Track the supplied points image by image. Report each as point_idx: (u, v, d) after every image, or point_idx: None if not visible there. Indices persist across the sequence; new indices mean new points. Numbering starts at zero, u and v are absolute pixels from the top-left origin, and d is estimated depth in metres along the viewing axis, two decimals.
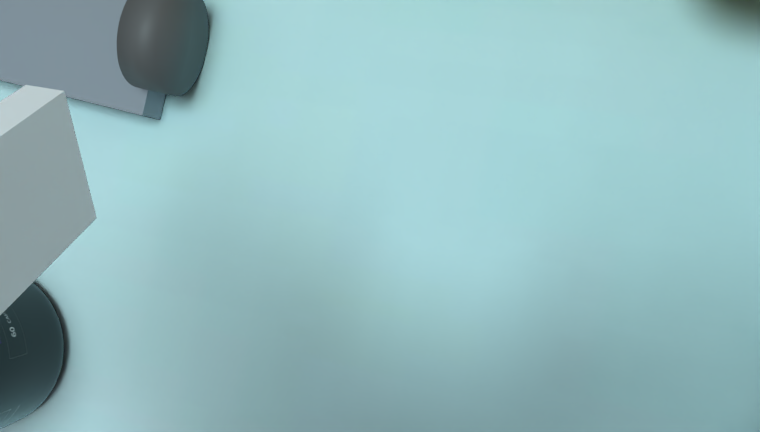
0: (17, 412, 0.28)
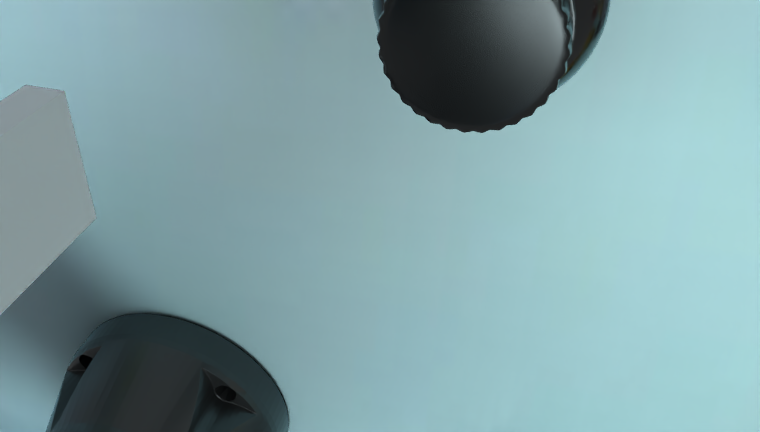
0: None
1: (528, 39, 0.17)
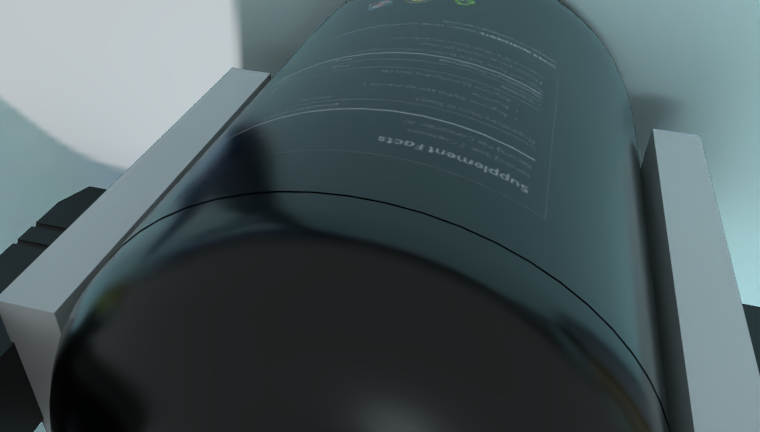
0: None
1: None
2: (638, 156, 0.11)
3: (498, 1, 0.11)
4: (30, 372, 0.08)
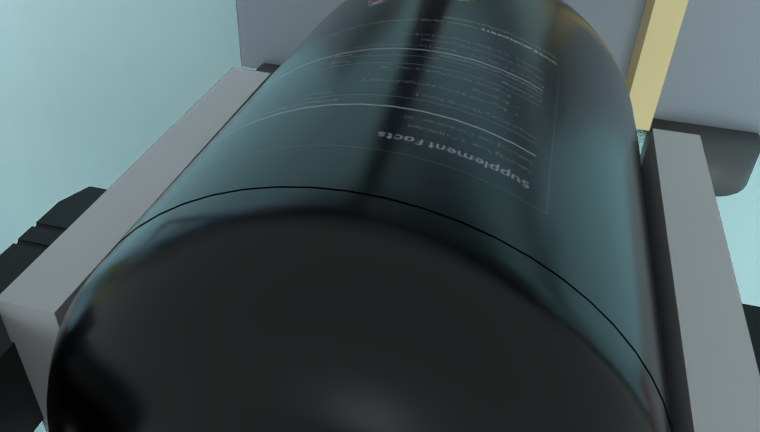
0: None
1: None
2: (639, 153, 0.11)
3: None
4: (31, 372, 0.08)
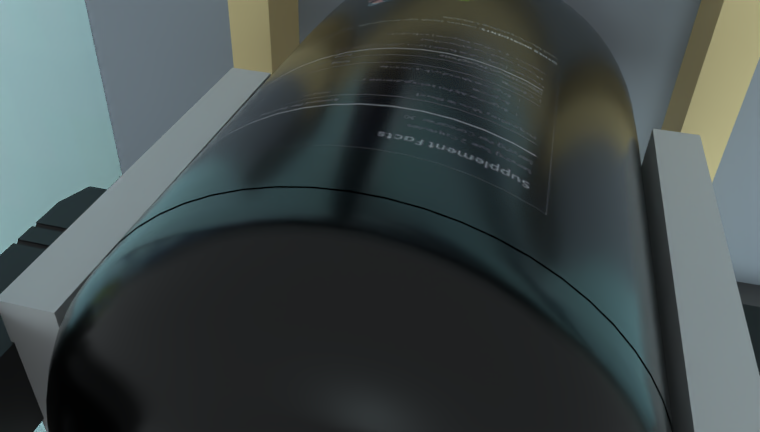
0: None
1: None
2: (639, 153, 0.11)
3: None
4: (30, 372, 0.08)
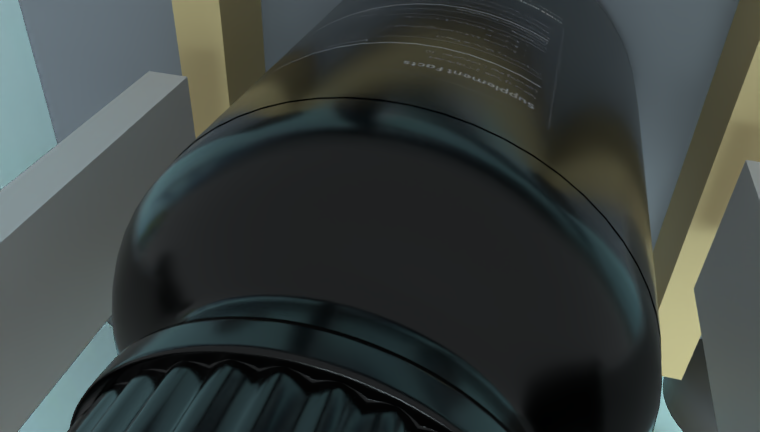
0: None
1: None
2: (638, 114, 0.12)
3: None
4: None
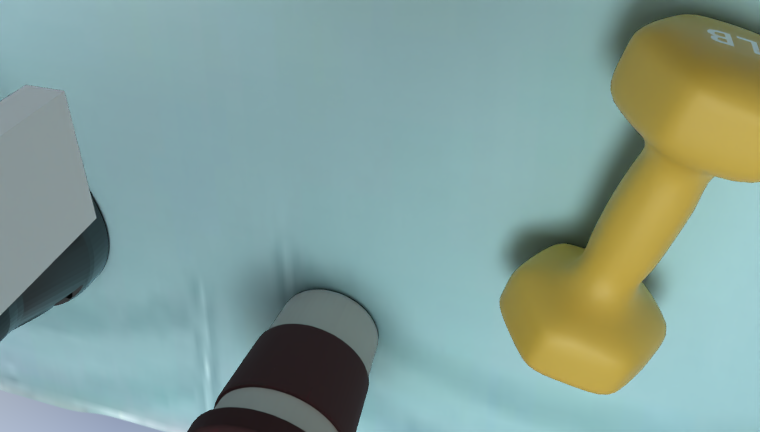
0: None
1: None
2: None
3: None
4: None
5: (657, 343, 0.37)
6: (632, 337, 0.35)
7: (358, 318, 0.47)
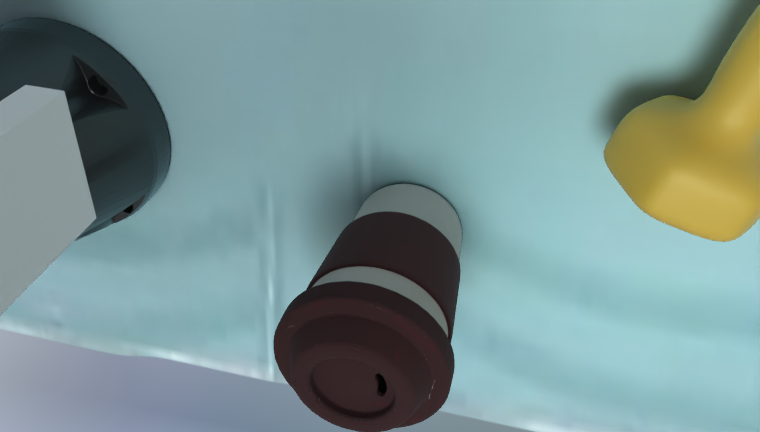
0: None
1: None
2: None
3: None
4: None
5: None
6: None
7: (444, 209, 0.45)
